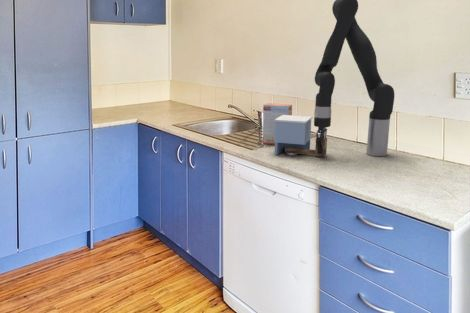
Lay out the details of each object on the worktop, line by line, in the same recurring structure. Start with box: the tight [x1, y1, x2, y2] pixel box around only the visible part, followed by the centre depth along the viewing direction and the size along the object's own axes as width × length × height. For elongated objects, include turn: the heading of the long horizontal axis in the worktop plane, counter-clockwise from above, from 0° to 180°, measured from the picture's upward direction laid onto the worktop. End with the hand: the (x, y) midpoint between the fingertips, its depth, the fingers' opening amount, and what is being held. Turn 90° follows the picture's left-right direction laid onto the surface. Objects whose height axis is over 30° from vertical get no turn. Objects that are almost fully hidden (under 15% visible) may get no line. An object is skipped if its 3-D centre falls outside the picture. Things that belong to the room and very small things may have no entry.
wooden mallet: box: [284, 137, 328, 158], centre depth 202 cm, size 19×4×8 cm, turn 68°
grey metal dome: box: [286, 151, 298, 158], centre depth 202 cm, size 5×5×2 cm
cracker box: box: [262, 102, 293, 146], centre depth 223 cm, size 14×6×21 cm, turn 59°
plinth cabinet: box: [274, 114, 313, 156], centre depth 206 cm, size 15×15×17 cm
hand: (320, 152), depth 200 cm, fingers closed on wooden mallet, 4 cm apart
